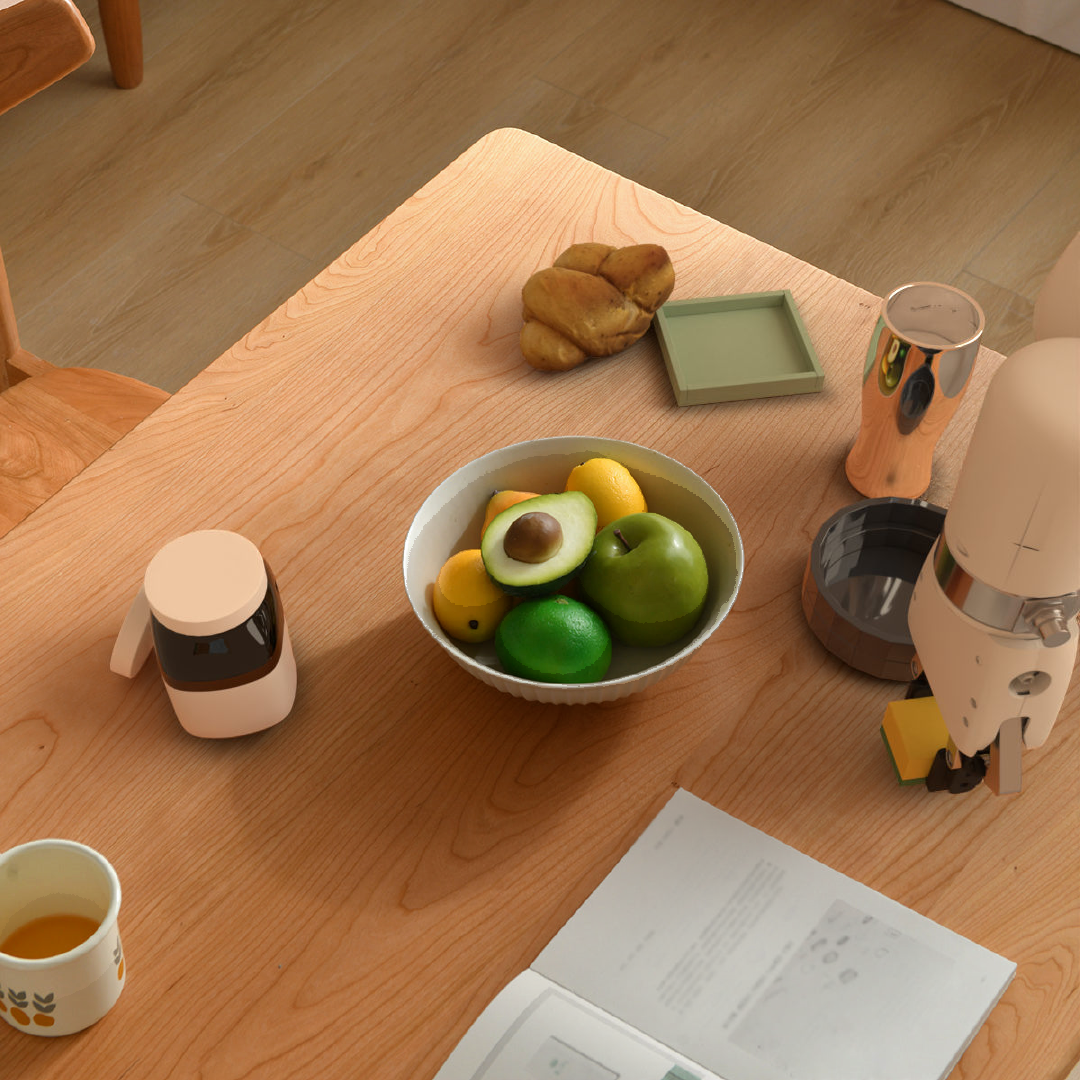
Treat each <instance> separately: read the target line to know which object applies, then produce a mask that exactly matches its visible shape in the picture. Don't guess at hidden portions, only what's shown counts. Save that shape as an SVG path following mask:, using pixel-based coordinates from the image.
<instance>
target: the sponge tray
mask: <svg viewBox="0 0 1080 1080" xmlns="http://www.w3.org/2000/svg"><path fill="white" fill-rule="evenodd" d="M802 318H803V317H802V316H801V313H800V311H799V309H798V306H797V303H796V302H795V298H794V296H793V294H792V292H791V289H789V288H787V289H778V290H777V289H776V290H768V291H758V292H757V291H756V292H747V293H737V294H727V295H726V294H725V295H718V296H717V295H715V296H707V297H705V296H704V297H697V298H687V299H676V300H667V301H666V302H665V303H664V304H663V305H662V306H661V307H660V308H659V309H658V310H657V311H655V314H654V316H653V318H652V320H651V322H652V324H653V328H654V331H655V335H656V337H657V341H658V344H659V347H660V352H661V354H662V358H663V361H664V364H665V368H666V370H667V374H668V377H669V380H670V383H671V388H672V390H673V393H674V397H675V400H676V402H677V407H687V406H688V407H689V406H697V405H698V406H699V405H707V404H716V403H717V404H718V403H725V402H735V401H744V400H745V401H746V400H754V399H763V398H765V399H766V398H772V397H783V396H792V395H802V394H803V395H804V394H813V393H820V392H822V391H823V387H824V382H825V377H826V374H825V372H824V369H823V368H822V367H823V366H822V365H821V362H820V360H819V357H818V355H817V352H816V350H815V348H814V345H813V342H812V340H811V337H810V335H809V333H808V330H807V328H806V326H805V323H804V321H803V319H802Z"/></svg>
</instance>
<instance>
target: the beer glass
mask: <svg viewBox="0 0 1080 1080" xmlns="http://www.w3.org/2000/svg"><path fill="white" fill-rule="evenodd" d="M880 307H881V308H880V311H879V313H878V316H877V319H876V320H875V321H876V322H875V324H874V326H873V329H872V333H871V335H870V339H869V342H868V346H867V349H866V354H865V359H864V363H863V369H862V381H861V417H860V418H861V419H860V420H861V421H860V428H859V432H858V436H857V438H856V440H855V442H854V444H853V446H852V447H851V450H850V452H849V453H848V455H847V457H846V460H845V466H844V467H845V474H846V477H847V479H848V481H849V483H850V484H851V485H852V487H853V488H854V489H855V490H856V491H858V492H859V493H860V494H861V495H863V496H865V497H867V498H868V499H871V498H880V497H889V496H892V497H901V498H910V499H918V498H919V497H921V496H922V495H923V494H924V493H925V492H926V491H927V489H928V487H929V486H930V483H931V480H932V466H933V465H932V464H933V463H932V462H933V456H934V451H935V448H936V446H937V443H938V441H939V440H940V438H941V436H942V435H943V433H944V431H945V430H946V428H947V427H948V425H949V423H950V422H951V420H952V418H953V417H954V415H955V413H956V412H957V410H958V408H959V406H960V405H961V402H962V400H963V399H964V397H965V395H966V393H967V391H968V388H969V385H970V382H971V380H972V377H973V373H974V370H975V366H976V363H977V360H978V355H979V350H980V346H981V341H982V337H983V332H984V330H985V327H986V317H985V313H984V311H983V309H982V308H981V306H980V305H979V303H978V302H977V301H976V300H975V299H974V298H973V297H972V296H970V295H969V294H968V293H966V292H965V291H963V290H961V289H959V288H957V287H954V286H952V285H949V284H945V283H943V282H935V281H914V282H908V283H904V284H901V285H899V286H897V287H895V288H893V289H892V290H891V291H889V292H888V293H887V294H886V295H885V297H884V298H883V301H882V302H881V306H880Z"/></svg>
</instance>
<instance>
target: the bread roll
mask: <svg viewBox="0 0 1080 1080" xmlns="http://www.w3.org/2000/svg"><path fill="white" fill-rule="evenodd" d="M675 285H676V272H675V270H674V265H673V262H672V260H671V257H670V256H669V254H668V252H667V250H666V249H665V248H664V247H663V246H662V245H658V244H656V243H641V244H640V243H639V244H636V245H635V244H634V245H628V246H622V247H620V248H618V247H616V246H614V245H608V244H605V243H600V242H583V243H582V242H581V243H572V244H571V245H570V246H569V247H568V248H567V249H565V250H564V251H563V252H562V253H561V254H560V255H559V256H558V257H557V258H556V259H555V260H554V262H553V264H552V266H551V267H547V268H545V269H542V270H538V271H536V272H535V273H533V274H532V275H531V276H530V277H529V278H528V279H527V281H526V282H525V283H524V285H522V288H521V302H522V312H521V317H522V319H523V321H524V324H523V326H522V327H521V328H520V331H519V335H520V336H519V343H518V344H519V346H518V347H519V351H520V353H521V357H522V358H524V360H525V362H526V363H527V364H528V365H529V366H530V367H532V368H533V369H535V370H538V371H542V372H547V373H549V372H551V373H558V372H559V373H561V372H566V371H570V370H573V369H575V368H576V367H578V366H579V365H581V364H582V363H584V362H585V361H586V360H587V359H593V358H596V359H597V358H606V357H613V355H617V354H619V353H621V352H623V351H625V350H627V349H628V348H630V347H631V346H633V345H634V344H635V343H636V342H637V341H639V340H640V339H641V338H642V337H643V336H644V335H645V334H646V332H647V331H648V330H649V329H650V326H651V322H652V318H653V316H654V314H655V311H657V310H658V309H659V308H660V307H661V306H662V305H663V304H664V303H665V302H666V301H668V300H669V298H670V297H671V295H672V293H673V291H674V289H675Z"/></svg>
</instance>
